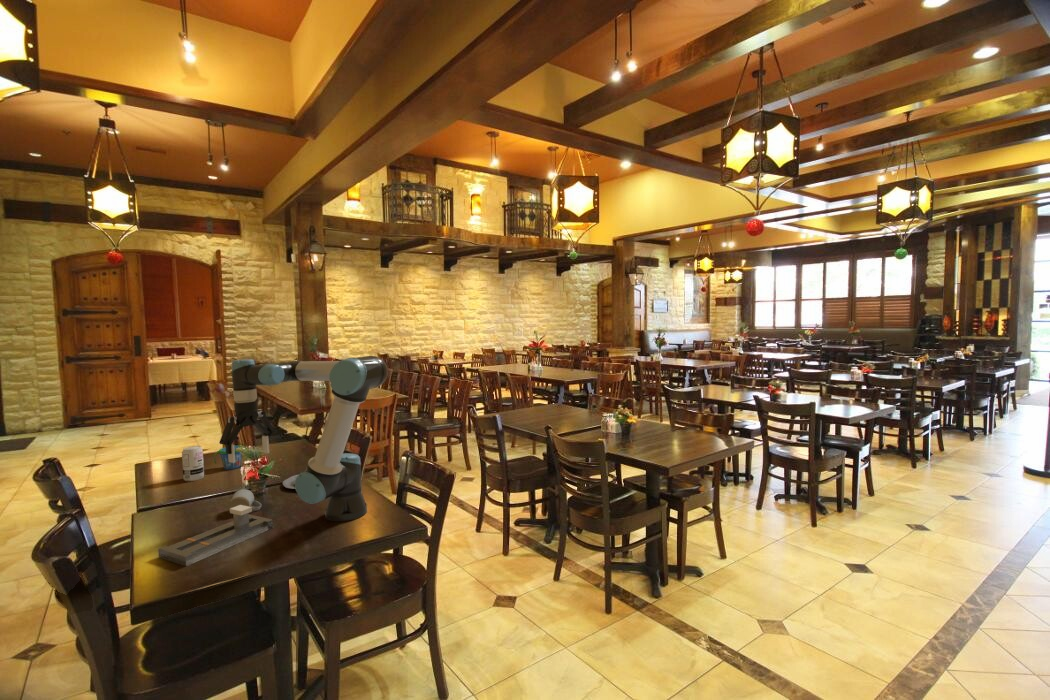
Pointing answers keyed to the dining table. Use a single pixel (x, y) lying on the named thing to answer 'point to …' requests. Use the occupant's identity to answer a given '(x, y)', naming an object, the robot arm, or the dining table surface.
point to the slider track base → (213, 541)
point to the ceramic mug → (244, 499)
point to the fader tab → (240, 515)
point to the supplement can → (192, 463)
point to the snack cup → (226, 461)
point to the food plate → (290, 482)
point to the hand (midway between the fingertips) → (249, 457)
